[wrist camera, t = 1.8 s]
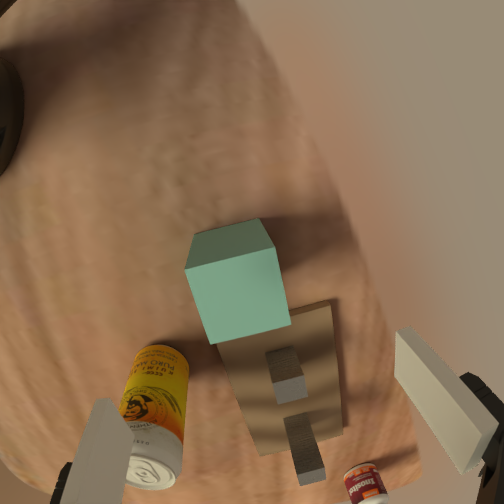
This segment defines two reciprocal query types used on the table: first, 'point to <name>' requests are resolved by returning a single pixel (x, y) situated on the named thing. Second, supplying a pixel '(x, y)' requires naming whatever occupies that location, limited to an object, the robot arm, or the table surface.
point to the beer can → (156, 416)
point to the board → (260, 385)
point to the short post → (286, 374)
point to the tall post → (304, 449)
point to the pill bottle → (365, 485)
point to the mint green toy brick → (236, 281)
